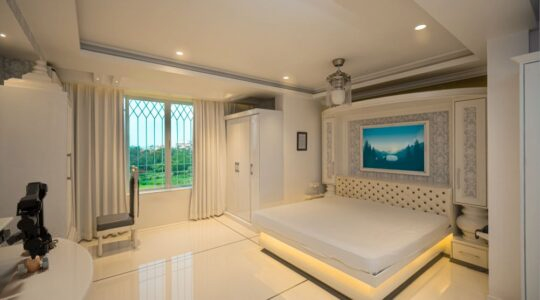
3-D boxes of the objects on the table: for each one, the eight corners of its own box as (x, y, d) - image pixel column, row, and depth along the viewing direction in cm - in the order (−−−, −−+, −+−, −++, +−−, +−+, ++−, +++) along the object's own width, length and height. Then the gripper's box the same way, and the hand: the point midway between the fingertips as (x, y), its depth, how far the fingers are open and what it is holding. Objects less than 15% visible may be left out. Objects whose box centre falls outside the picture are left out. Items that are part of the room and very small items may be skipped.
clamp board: (19, 271, 118) (18, 269, 118) (46, 263, 125) (46, 261, 125) (19, 281, 110) (19, 279, 110) (49, 272, 117) (49, 270, 117)
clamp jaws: (18, 272, 116) (17, 265, 116) (47, 263, 123) (47, 257, 123) (18, 276, 112) (18, 269, 112) (48, 267, 119) (48, 260, 119)
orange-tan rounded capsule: (27, 270, 118) (26, 258, 117) (39, 266, 121) (38, 254, 120) (27, 273, 115) (26, 261, 114) (40, 269, 118) (39, 257, 117)
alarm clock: (21, 247, 141) (54, 234, 153) (24, 254, 142) (56, 241, 154) (26, 251, 134) (59, 237, 146) (29, 259, 135) (62, 245, 147)
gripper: (6, 224, 117) (8, 256, 118) (5, 234, 104) (8, 269, 105) (38, 218, 125) (40, 248, 126) (41, 227, 113) (43, 260, 113)
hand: (33, 256), depth 117 cm, fingers open, 9 cm apart
